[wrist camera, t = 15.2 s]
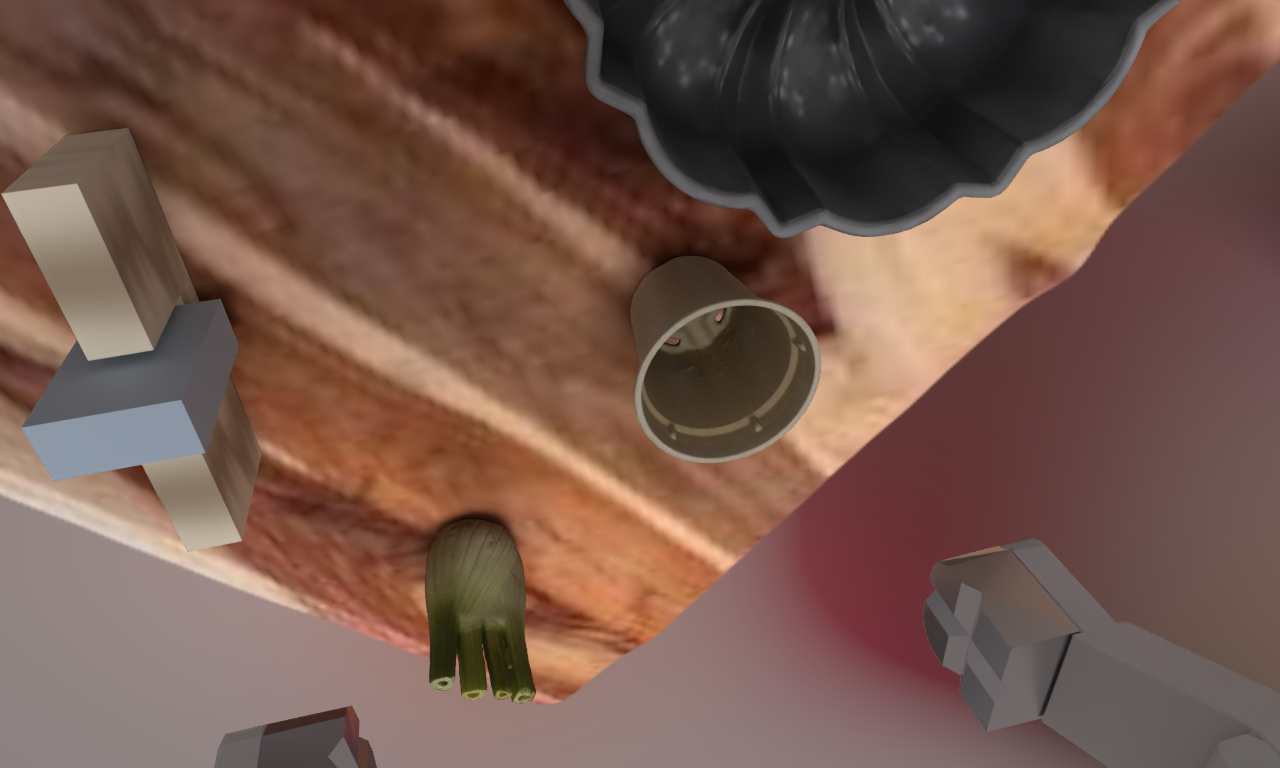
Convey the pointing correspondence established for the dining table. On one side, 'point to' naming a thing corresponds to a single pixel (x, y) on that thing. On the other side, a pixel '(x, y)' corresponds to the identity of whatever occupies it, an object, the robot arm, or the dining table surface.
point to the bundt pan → (855, 96)
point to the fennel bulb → (477, 611)
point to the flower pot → (717, 363)
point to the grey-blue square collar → (137, 398)
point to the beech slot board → (131, 306)
